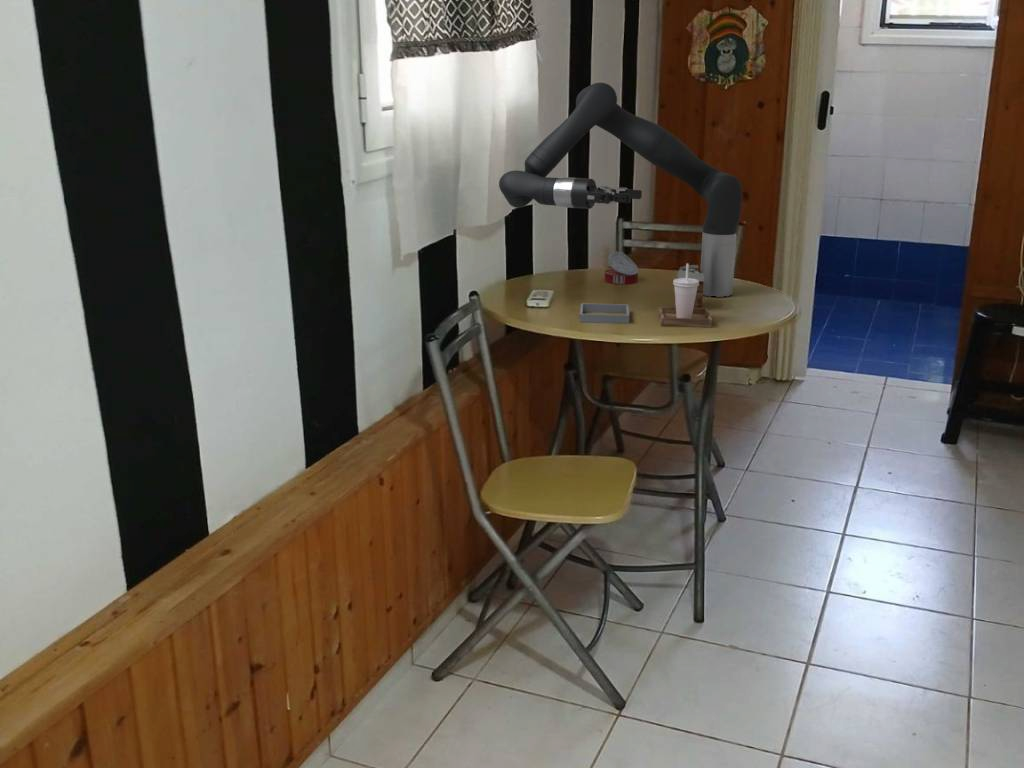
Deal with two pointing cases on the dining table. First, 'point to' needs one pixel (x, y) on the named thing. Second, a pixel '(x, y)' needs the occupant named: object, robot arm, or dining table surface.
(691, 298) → the smoothie
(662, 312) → the walnut tray
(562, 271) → the dining table surface
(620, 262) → the canned food
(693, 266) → the food container
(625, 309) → the grey square frame
